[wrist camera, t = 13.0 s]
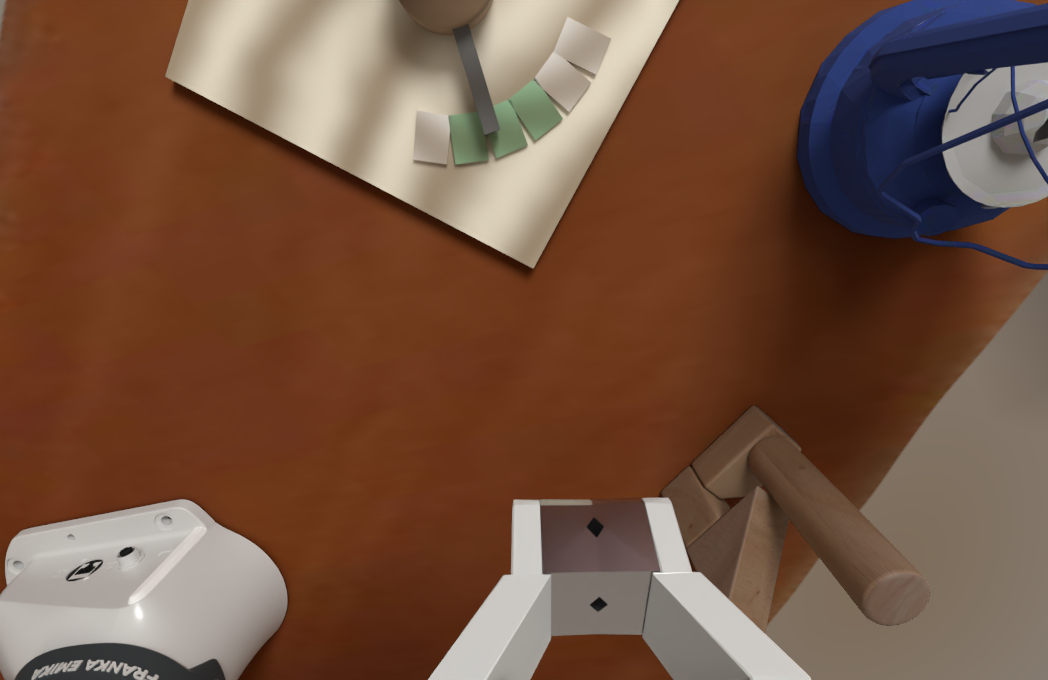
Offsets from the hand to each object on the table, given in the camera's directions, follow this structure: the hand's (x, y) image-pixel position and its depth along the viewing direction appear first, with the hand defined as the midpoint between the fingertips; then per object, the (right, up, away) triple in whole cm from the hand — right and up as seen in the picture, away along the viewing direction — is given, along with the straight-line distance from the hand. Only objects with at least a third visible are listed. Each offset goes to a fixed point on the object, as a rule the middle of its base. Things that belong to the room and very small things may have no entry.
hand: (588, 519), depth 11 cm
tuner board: (-6, +25, +23) cm, 35 cm away
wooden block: (+15, -6, +35) cm, 39 cm away
